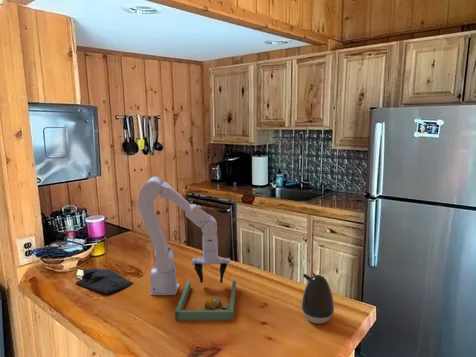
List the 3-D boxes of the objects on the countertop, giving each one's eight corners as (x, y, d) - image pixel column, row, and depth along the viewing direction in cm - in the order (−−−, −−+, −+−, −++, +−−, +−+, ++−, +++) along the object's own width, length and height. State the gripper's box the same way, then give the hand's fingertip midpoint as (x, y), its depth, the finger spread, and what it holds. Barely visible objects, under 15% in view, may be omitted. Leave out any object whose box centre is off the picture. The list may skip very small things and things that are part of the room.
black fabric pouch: (101, 300, 131) (100, 288, 130) (73, 283, 145) (71, 272, 144) (136, 284, 143) (135, 273, 142) (107, 270, 156) (106, 260, 156)
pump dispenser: (310, 306, 123) (310, 265, 120) (338, 317, 116) (340, 274, 113) (295, 320, 115) (295, 277, 112) (324, 332, 108) (326, 286, 105)
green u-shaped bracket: (175, 320, 117) (175, 312, 116) (187, 287, 138) (187, 280, 138) (233, 320, 116) (232, 312, 115) (236, 287, 137) (235, 280, 137)
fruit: (220, 317, 118) (220, 307, 117) (199, 311, 122) (199, 302, 121) (232, 305, 125) (232, 296, 124) (212, 300, 129) (212, 291, 128)
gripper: (229, 244, 138) (230, 276, 141) (193, 244, 139) (194, 276, 142) (228, 251, 132) (229, 285, 134) (190, 251, 132) (191, 285, 135)
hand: (211, 281), depth 137 cm, fingers open, 7 cm apart
